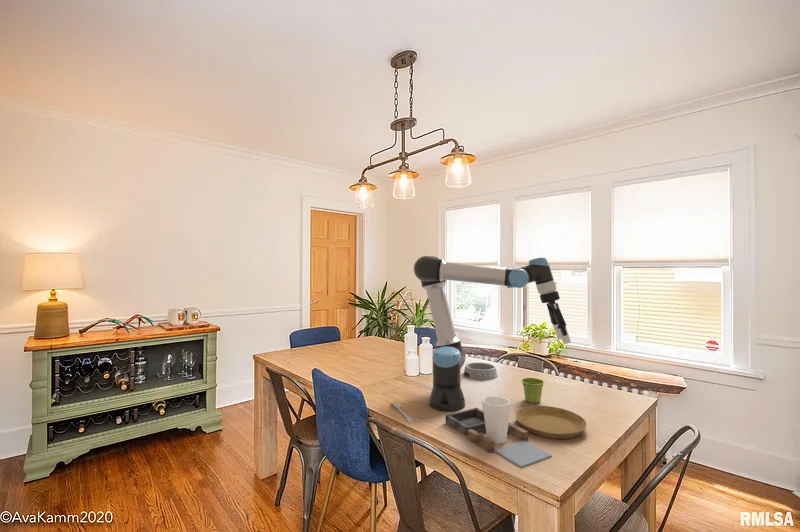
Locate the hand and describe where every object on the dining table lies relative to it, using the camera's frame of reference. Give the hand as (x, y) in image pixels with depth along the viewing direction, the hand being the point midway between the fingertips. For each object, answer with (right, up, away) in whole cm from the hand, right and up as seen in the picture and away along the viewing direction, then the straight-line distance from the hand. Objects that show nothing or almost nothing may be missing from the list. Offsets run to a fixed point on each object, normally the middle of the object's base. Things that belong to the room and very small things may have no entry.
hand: (564, 341), depth 154 cm
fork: (-68, -28, -6) cm, 74 cm away
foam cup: (-36, -27, -30) cm, 54 cm away
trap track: (-39, -27, -24) cm, 54 cm away
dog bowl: (-25, -28, +44) cm, 58 cm away
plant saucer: (-14, -27, -20) cm, 37 cm away
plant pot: (-11, -27, +6) cm, 30 cm away
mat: (-31, -27, -40) cm, 57 cm away
